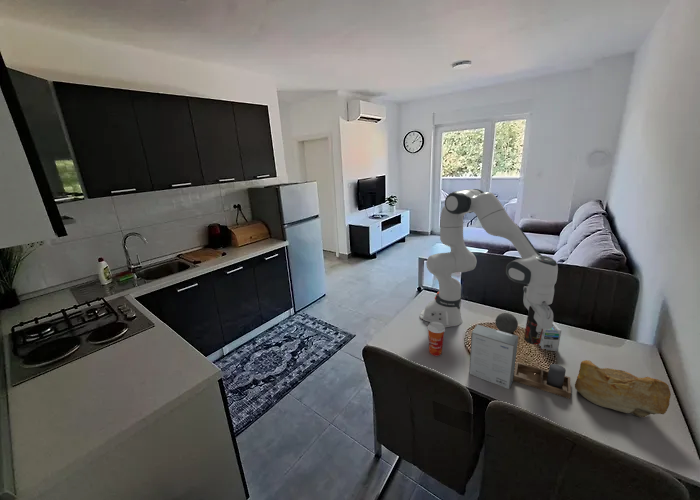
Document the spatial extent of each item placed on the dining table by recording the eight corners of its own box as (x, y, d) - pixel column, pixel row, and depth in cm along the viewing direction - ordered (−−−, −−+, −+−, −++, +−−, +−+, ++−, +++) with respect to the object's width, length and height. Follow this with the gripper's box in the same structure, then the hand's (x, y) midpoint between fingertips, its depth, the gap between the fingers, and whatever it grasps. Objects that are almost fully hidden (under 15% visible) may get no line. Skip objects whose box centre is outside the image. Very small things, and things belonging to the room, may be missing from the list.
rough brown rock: (662, 406, 103) (671, 368, 99) (663, 434, 91) (674, 392, 88) (579, 376, 119) (585, 343, 116) (571, 398, 107) (577, 361, 104)
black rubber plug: (546, 387, 112) (549, 370, 109) (546, 379, 116) (549, 362, 113) (562, 392, 109) (565, 374, 107) (562, 383, 113) (565, 366, 111)
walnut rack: (513, 381, 116) (513, 375, 115) (515, 367, 124) (516, 361, 123) (569, 400, 106) (570, 393, 105) (568, 383, 114) (570, 377, 113)
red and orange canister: (423, 352, 136) (424, 326, 132) (431, 344, 142) (432, 319, 137) (439, 359, 131) (440, 332, 127) (447, 351, 136) (448, 324, 132)
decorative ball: (498, 324, 155) (500, 307, 152) (519, 330, 148) (521, 313, 145) (491, 332, 149) (493, 314, 146) (512, 339, 142) (515, 321, 139)
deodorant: (529, 334, 127) (534, 304, 123) (543, 341, 122) (549, 310, 118) (520, 338, 125) (525, 307, 120) (534, 346, 120) (540, 314, 115)
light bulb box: (558, 351, 132) (562, 330, 129) (541, 350, 133) (545, 329, 130) (548, 337, 142) (551, 317, 139) (532, 336, 143) (535, 317, 140)
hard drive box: (514, 379, 118) (519, 336, 112) (509, 390, 112) (515, 346, 106) (474, 363, 127) (477, 323, 121) (467, 373, 122) (471, 332, 116)
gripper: (560, 309, 107) (554, 341, 111) (538, 285, 126) (533, 313, 130) (541, 308, 108) (535, 340, 112) (522, 284, 127) (518, 312, 131)
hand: (534, 325), depth 121 cm, fingers closed on deodorant, 6 cm apart
